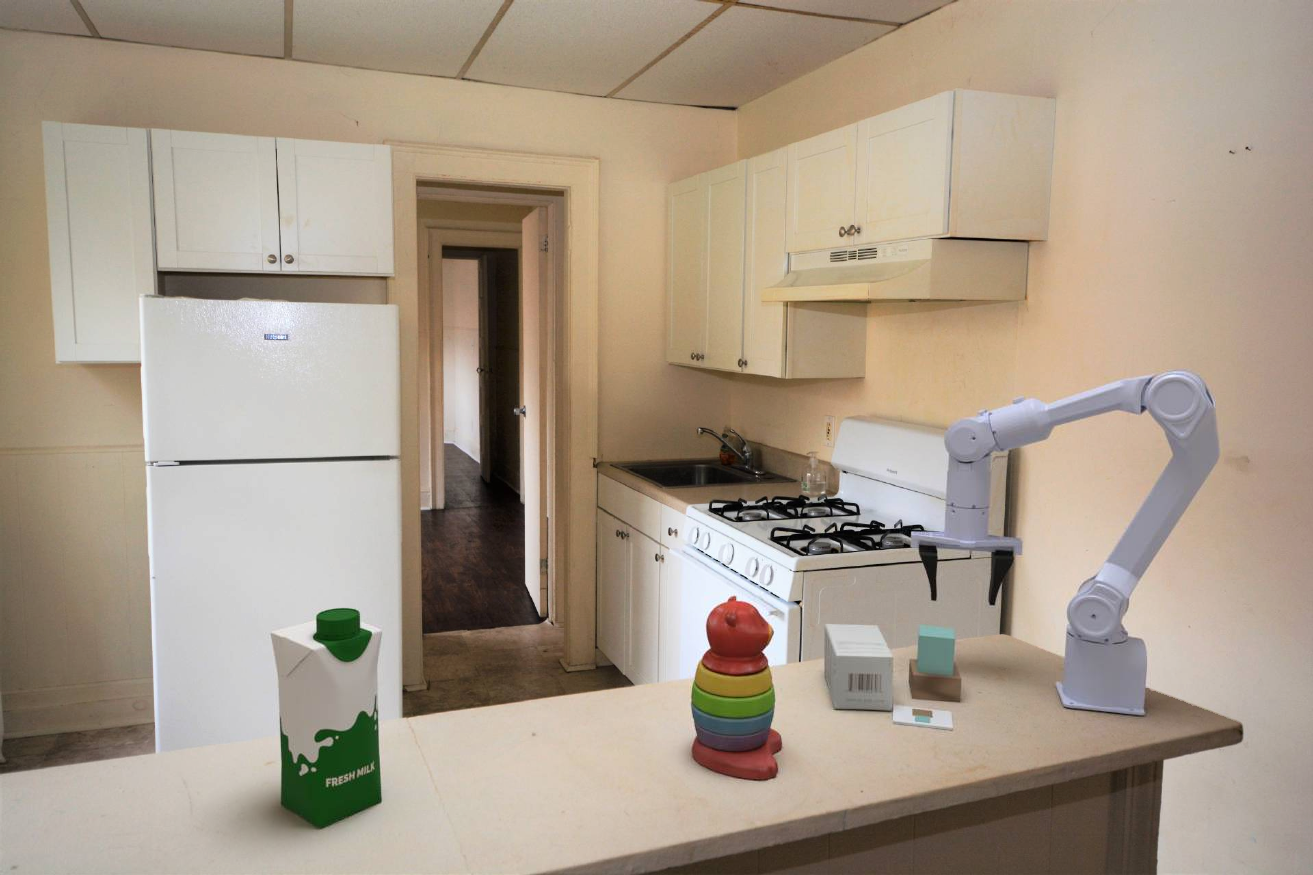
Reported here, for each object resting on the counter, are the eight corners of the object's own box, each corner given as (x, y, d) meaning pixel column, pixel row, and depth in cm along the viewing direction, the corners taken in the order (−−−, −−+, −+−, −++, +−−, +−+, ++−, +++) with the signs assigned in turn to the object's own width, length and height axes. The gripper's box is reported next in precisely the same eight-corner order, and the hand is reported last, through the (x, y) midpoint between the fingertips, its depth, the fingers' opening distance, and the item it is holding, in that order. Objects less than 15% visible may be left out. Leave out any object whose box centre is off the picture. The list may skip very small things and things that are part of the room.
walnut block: (954, 687, 128) (955, 662, 127) (959, 704, 122) (961, 678, 122) (908, 683, 129) (909, 658, 129) (912, 700, 123) (913, 674, 123)
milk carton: (316, 836, 88) (309, 630, 86) (266, 804, 94) (259, 610, 92) (395, 801, 95) (391, 608, 93) (344, 773, 101) (339, 591, 98)
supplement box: (892, 712, 118) (877, 674, 131) (894, 655, 118) (878, 623, 130) (833, 711, 119) (823, 673, 132) (834, 654, 118) (824, 622, 131)
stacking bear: (776, 782, 100) (781, 620, 98) (682, 772, 102) (685, 613, 100) (783, 739, 111) (787, 591, 108) (698, 730, 113) (700, 585, 110)
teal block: (951, 664, 127) (953, 628, 126) (953, 676, 122) (954, 638, 122) (917, 660, 128) (918, 624, 127) (917, 672, 124) (918, 635, 123)
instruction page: (951, 713, 118) (951, 710, 118) (952, 730, 114) (952, 727, 113) (893, 707, 120) (893, 704, 120) (892, 723, 115) (892, 720, 115)
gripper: (913, 507, 127) (908, 604, 129) (1027, 513, 124) (1021, 613, 125) (912, 497, 134) (908, 590, 136) (1020, 503, 131) (1015, 599, 132)
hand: (962, 601), depth 131 cm, fingers open, 7 cm apart
